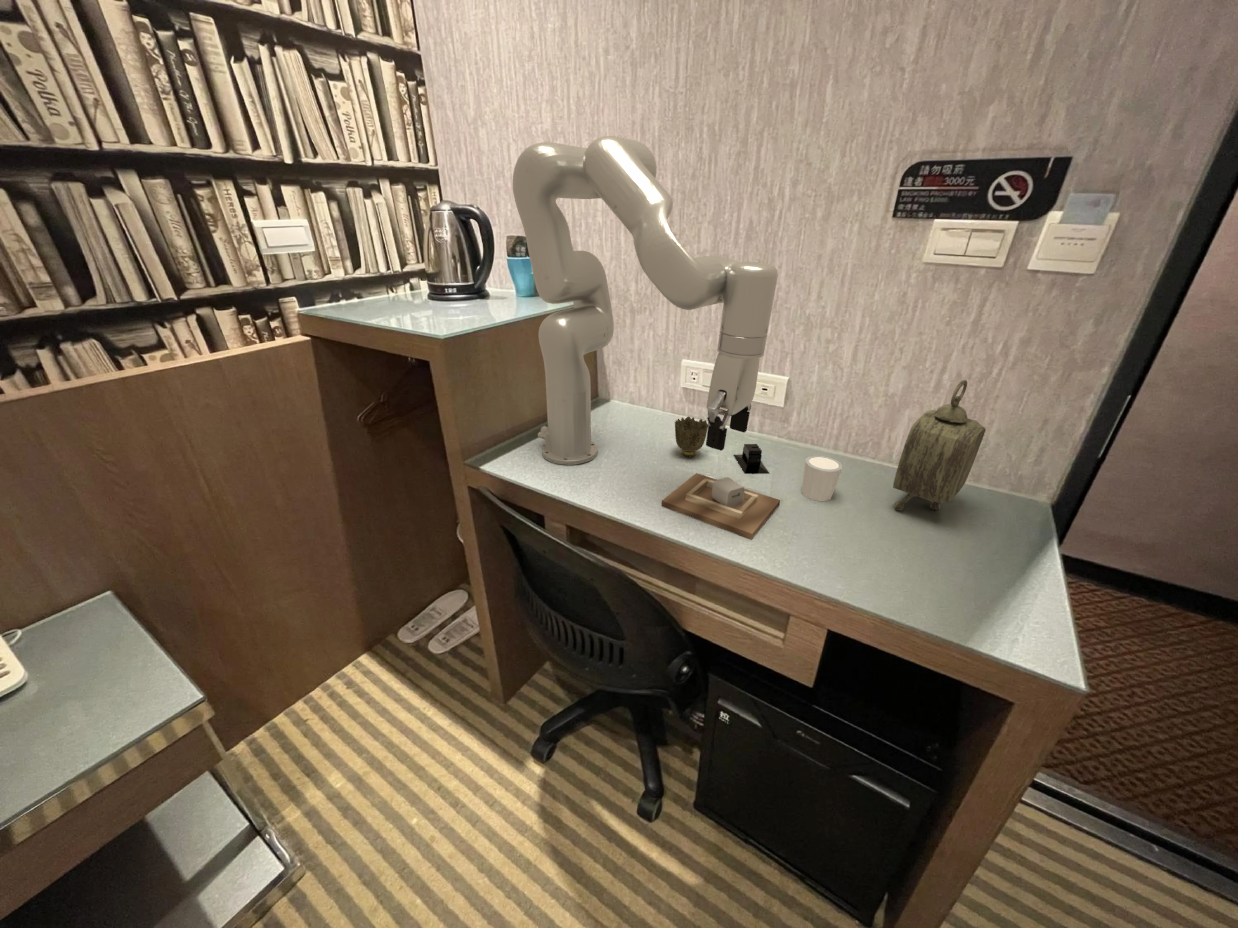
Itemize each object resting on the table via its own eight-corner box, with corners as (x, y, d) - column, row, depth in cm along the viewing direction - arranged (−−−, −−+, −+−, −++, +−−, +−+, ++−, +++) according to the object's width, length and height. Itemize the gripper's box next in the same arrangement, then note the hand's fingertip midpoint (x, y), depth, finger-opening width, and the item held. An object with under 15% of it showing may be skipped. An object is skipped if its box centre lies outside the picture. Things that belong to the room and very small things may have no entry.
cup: (710, 453, 117) (713, 421, 114) (696, 465, 112) (700, 431, 108) (681, 445, 121) (683, 414, 117) (666, 456, 115) (669, 424, 111)
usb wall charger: (725, 510, 93) (728, 491, 91) (702, 493, 98) (704, 474, 96) (742, 504, 95) (745, 486, 93) (719, 488, 100) (721, 470, 98)
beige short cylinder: (836, 490, 103) (843, 459, 100) (833, 506, 97) (841, 474, 94) (801, 482, 106) (807, 452, 102) (796, 497, 100) (803, 466, 97)
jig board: (661, 505, 96) (662, 495, 95) (695, 477, 106) (696, 467, 105) (751, 539, 87) (753, 527, 86) (779, 505, 97) (781, 494, 96)
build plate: (774, 478, 108) (778, 459, 106) (741, 479, 107) (744, 460, 105) (757, 453, 119) (759, 435, 117) (726, 453, 118) (728, 436, 116)
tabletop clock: (910, 484, 106) (949, 368, 94) (959, 501, 100) (1006, 379, 89) (884, 510, 96) (923, 384, 85) (936, 529, 91) (985, 397, 79)
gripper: (741, 331, 91) (727, 419, 99) (696, 349, 78) (684, 449, 86) (782, 338, 87) (764, 429, 95) (741, 359, 74) (725, 462, 82)
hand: (726, 438), depth 91 cm, fingers open, 9 cm apart
